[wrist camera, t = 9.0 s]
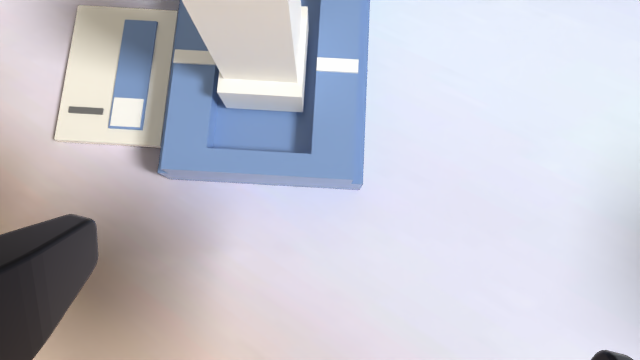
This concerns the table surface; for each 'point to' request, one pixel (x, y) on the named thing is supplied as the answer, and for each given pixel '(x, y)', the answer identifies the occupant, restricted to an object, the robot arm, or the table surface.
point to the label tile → (117, 77)
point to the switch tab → (256, 50)
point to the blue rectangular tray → (273, 126)
